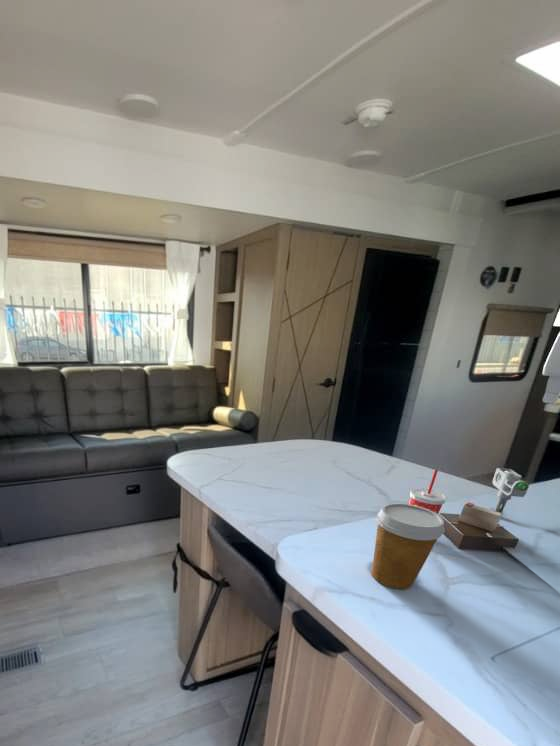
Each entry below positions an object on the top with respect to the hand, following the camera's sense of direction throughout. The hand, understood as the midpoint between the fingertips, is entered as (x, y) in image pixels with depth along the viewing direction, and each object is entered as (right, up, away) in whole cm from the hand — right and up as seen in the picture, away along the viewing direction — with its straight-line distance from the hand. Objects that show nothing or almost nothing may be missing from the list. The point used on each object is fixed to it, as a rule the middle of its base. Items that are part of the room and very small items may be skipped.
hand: (555, 400), depth 74 cm
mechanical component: (+4, -21, +19) cm, 29 cm away
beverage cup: (-20, -25, +9) cm, 34 cm away
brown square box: (-9, -26, +8) cm, 29 cm away
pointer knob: (-9, -23, +7) cm, 26 cm away
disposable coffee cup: (-33, -32, -6) cm, 46 cm away
